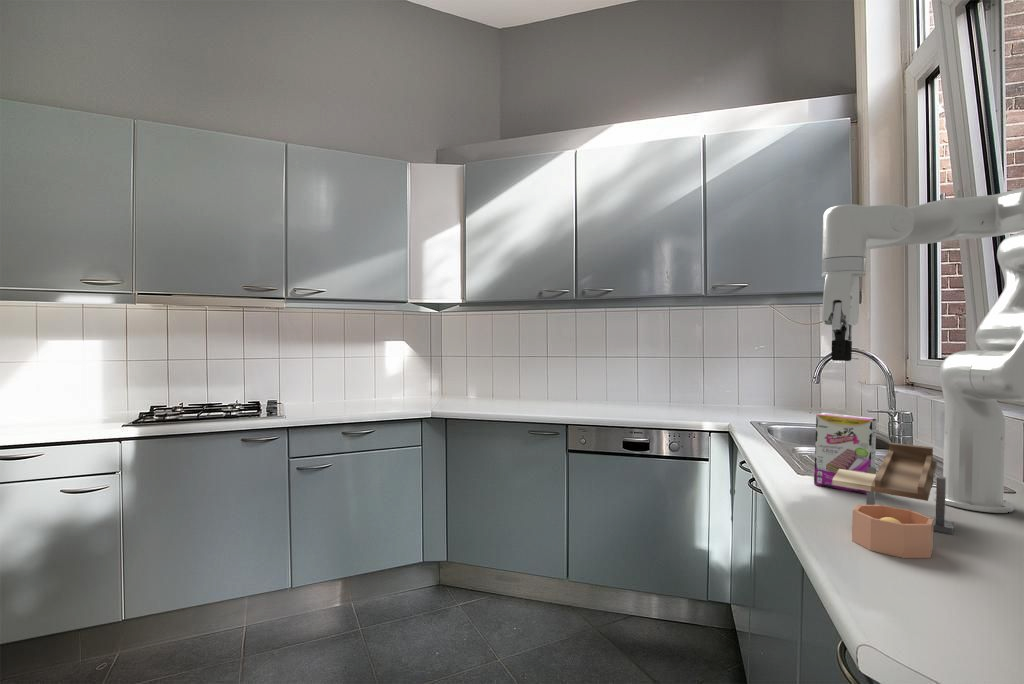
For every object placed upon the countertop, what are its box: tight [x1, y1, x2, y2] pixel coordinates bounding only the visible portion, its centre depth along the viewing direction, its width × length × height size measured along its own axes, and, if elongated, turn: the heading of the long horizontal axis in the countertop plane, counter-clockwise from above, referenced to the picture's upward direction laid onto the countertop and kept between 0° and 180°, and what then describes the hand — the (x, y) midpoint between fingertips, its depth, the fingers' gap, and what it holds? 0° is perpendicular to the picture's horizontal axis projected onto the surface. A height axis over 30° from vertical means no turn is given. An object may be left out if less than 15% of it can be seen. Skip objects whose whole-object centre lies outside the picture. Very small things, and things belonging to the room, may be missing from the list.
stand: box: [865, 466, 955, 535], centre depth 100 cm, size 5×14×9 cm, turn 49°
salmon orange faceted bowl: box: [851, 504, 934, 559], centre depth 88 cm, size 10×10×5 cm
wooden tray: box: [832, 442, 938, 502], centre depth 102 cm, size 18×14×7 cm
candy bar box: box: [813, 412, 877, 495], centre depth 123 cm, size 11×5×16 cm, turn 47°
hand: (841, 360), depth 109 cm, fingers closed
